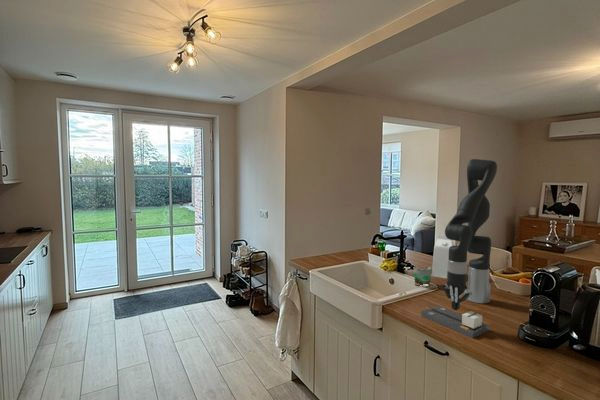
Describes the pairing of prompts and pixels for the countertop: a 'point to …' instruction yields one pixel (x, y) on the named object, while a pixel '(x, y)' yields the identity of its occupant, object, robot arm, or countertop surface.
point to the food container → (422, 276)
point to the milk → (441, 256)
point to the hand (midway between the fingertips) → (455, 309)
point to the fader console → (453, 321)
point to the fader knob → (472, 319)
